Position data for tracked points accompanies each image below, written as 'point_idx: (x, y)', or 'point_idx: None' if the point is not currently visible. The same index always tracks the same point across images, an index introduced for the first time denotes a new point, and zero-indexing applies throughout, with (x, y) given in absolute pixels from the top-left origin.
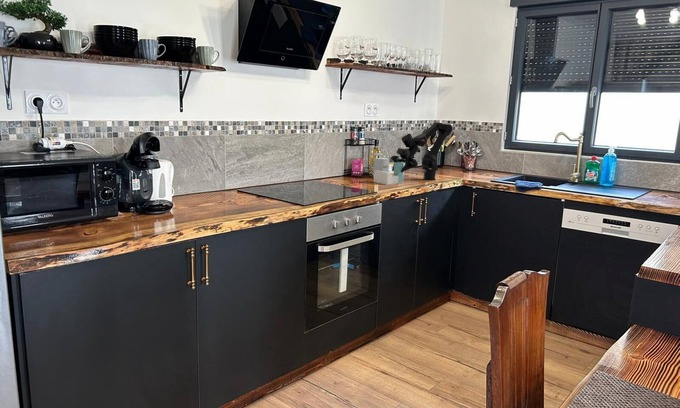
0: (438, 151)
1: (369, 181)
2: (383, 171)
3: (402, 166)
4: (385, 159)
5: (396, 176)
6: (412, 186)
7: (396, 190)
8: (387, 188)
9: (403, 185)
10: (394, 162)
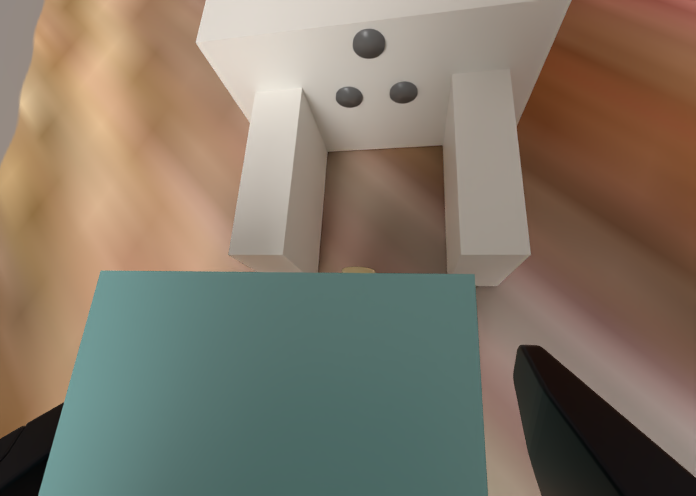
0: None
1: (573, 76)
2: (369, 2)
3: None
4: None
5: (237, 211)
6: (57, 266)
7: (60, 14)
8: (148, 4)
9: (151, 228)
10: (449, 278)
